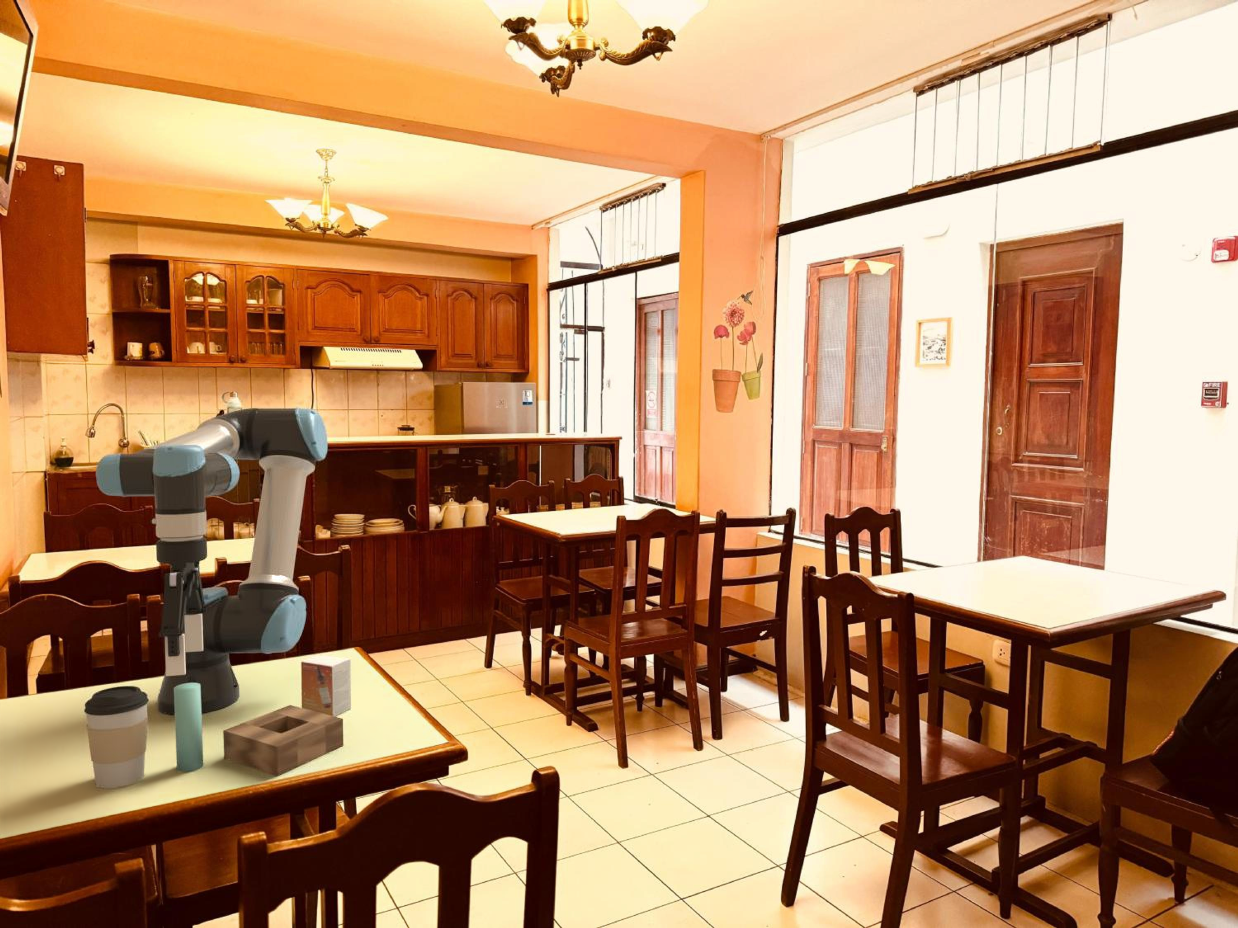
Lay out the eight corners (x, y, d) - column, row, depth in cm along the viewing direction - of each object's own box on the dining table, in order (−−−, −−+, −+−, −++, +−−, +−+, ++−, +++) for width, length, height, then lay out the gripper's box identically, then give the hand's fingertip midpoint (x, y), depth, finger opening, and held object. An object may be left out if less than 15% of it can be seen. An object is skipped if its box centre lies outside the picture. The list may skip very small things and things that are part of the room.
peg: (171, 768, 140) (168, 688, 139) (193, 759, 143) (190, 681, 142) (186, 773, 138) (183, 692, 137) (208, 764, 141) (205, 685, 140)
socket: (224, 758, 144) (223, 730, 144) (290, 730, 156) (290, 704, 156) (278, 775, 137) (277, 746, 137) (343, 745, 150) (342, 718, 149)
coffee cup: (106, 767, 140) (102, 681, 139) (161, 765, 141) (158, 680, 140) (75, 792, 131) (71, 700, 130) (135, 790, 132) (131, 699, 131)
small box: (301, 712, 165) (299, 661, 165) (320, 703, 171) (319, 653, 170) (332, 718, 162) (331, 666, 162) (352, 708, 168) (351, 658, 167)
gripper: (174, 528, 149) (178, 643, 150) (134, 550, 125) (139, 688, 126) (220, 526, 151) (223, 640, 152) (189, 548, 127) (194, 683, 128)
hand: (185, 662), depth 139 cm, fingers open, 13 cm apart
